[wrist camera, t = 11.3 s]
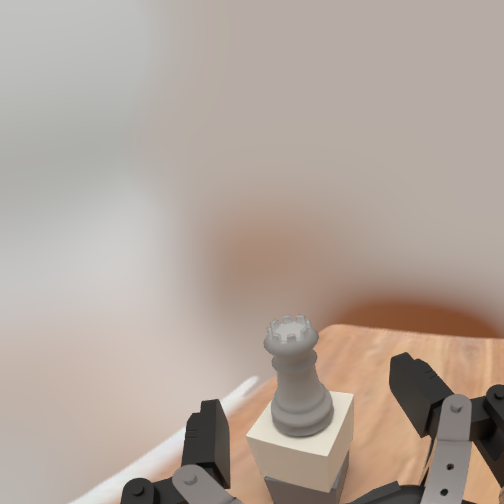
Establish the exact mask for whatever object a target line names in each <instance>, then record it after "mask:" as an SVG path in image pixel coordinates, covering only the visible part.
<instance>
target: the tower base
mask: <svg viewBox="0 0 504 504" xmlns="http://www.w3.org/2000/svg"><path fill="white" fill-rule="evenodd" d="M348 463H349V450H348V452H347V454H346V457H345V459H344V462H343V464H342V466H341V468H340V471H339V473H338V475H337V477H336V479H335V482H334V484H333V486H332V488H331V490H330V492H329V493H327V492H323V491H318V490H314V489H310V488H306V487H302V486H298V485H294V484H290V483H287V482H283V481H280V480H277V479H273V478H270V477H267V476H265V478H264V480H265V482H266V485H267V487H268V490H269V492H270V494H271V497H272V499H273V501H274V504H339V500H340V497H341V493H342V489H343V485H344V481H345V477H346V473H347V469H348Z"/></svg>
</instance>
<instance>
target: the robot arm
mask: <svg viewBox="0 0 504 504" xmlns="http://www.w3.org/2000/svg"><path fill="white" fill-rule="evenodd" d="M389 385H390V389H391V392H392V393H393V395H394V396H395V398H396V399H397V401H398V403H399V404H400V406H401V407H402V409H403V410H404V412H405V413H406V415H407V417H408V418H409V420H410V421H411V423H412V424H413V426H414V428H415V429H416V431H417V432H418V434H419V435H420V437H421V438H423V437H425V436H427V435H430V437H431V441H430V445H429V449H428V453H427V457H426V461H425V465H424V468H423V472H422V475H421V478H420V480H419V483H418V485H401V486H399V484H398V482H397V481H394V482H392V483H389V484H387V485H384V486H382V487H379V488H376V489H373V490H372V491H370V492H368V493H367V494H365V495H363V496H361V497H360V498H358V499H356V500H354V501H353V502H351V503H347V504H476V503H472V502H469V501H466V500H462V498H463V494H464V489H465V484H466V479H467V473H468V468H469V461H470V454H471V446H472V441H473V442H474V444H475V445H476V447H477V448H478V450H479V452H480V453H481V455H482V456H483V458H484V460H485V461H486V463H487V465H488V466H489V468H490V469H491V471H492V473H493V474H494V476H495V478H496V480H497V481H498V483H499V485H500V486H501V488H502V489H501V491H500V494H499V502H500V503H499V504H504V385H500V384H498V385H494V386H492V387H490V388H489V389H488V391H487V393H486V396H482V397H478V398H474V399H469V398H468V397H466V396H464V395H461V394H454V393H453V392H452V391H451V390H450V388H449V387H448V386H447V385H446V384H445V383H444V382H443V380H442V379H441V378H440V377H439V376H437V374H436V372H435V371H433V369H432V368H431V367H430V366H429V365H428V363H426V362H424V361H422V360H420V359H416V360H414V359H413V358H412V357H411V356H410V355H409V354H408V353H407V352H405V353H402V354H399V355H397V356H394V357H392V358H391V362H390V375H389ZM225 489H230V438H229V426H228V422H227V419H226V416H225V414H224V411H223V409H222V406H221V404H220V401H219V400H218V399H215V400H207V401H202V402H201V410H200V413H192V415H191V416H190V418H189V419H188V421H187V425H186V433H185V440H184V448H183V455H182V463H181V467H180V468H179V469H177V470H176V471H175V473H174V474H173V476H172V477H170V478H168V479H165V480H161V481H158V482H154V483H151V482H150V481H149V480H147V479H145V478H135V479H132V480H130V481H129V482H127V483H126V485H125V486H124V488H123V492H122V497H121V503H120V504H244V503H242V502H241V501H240V500H239V499H237V498H236V497H235V498H234V497H232V496H231V495H230V494H229V493H228V492H227V491H226V490H225Z"/></svg>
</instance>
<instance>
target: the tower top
mask: <svg viewBox="0 0 504 504" xmlns="http://www.w3.org/2000/svg"><path fill="white" fill-rule="evenodd" d="M329 392H330V394H331V397H332V400H333V407H334V414H333V417H332V420H331V421H330V422H329V423H328V424H327V425H326V426H325V427H324V428H323V429H321V430H319V431H317V432H316V433H314V434H311V435H306V436H294V435H288V434H286V433H284V432H282V431H280V430H278V429H277V428H276V426H275V425H274V423H273V422H272V414H271V402H272V400H271V402H270V403H269V404H268V406H267V407H266V409H265V410H264V412H263V413H262V414H261V416H260V417H259V419H258V420H257V421H256V423H255V424H254V425H253V427H252V428H251V429H250V431H249V432H248V433H247V435H246V438H247V440H248V443H249V445H250V448H251V450H252V453H253V456H254V458H255V461H256V463H257V466H258V468H259V470H260V473H261V475H264V476H267V477H270V478H273V479H277V480H280V481H283V482H287V483H290V484H294V485H298V486H302V487H306V488H310V489H314V490H318V491H323V492H327V493H329V492H330V490H331V488H332V486H333V484H334V482H335V479H336V477H337V475H338V473H339V471H340V468H341V466H342V464H343V462H344V459H345V457H346V454H347V452H348V450H349V447H350V445H351V442H352V440H353V425H354V394H349V393H340V392H333V391H329Z"/></svg>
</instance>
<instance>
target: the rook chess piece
mask: <svg viewBox="0 0 504 504" xmlns="http://www.w3.org/2000/svg"><path fill="white" fill-rule="evenodd" d="M296 319H297V321H292V320H291V315H286V316H283V321H284V323H281V324H279V322H278V320H276V319H275V320H273V321H272V322H271V323H270V325H271V327H267V332H268V335H267V337H266V338H265V340H264V348H265V349H266V350H267V351H268V352H269V353H270V354H272V355H274V357H273V359H272V366H273V367H274V369H275V370H276V371H277V376H278V388H277V390H276V392H275V394H274V397H273V399H272V402H271V414H272V422H273V423H274V425H275V426H276V428H277V429H278V430H280V431H282V432H284V433H286V434H288V435H294V436H306V435H311V434H314V433H316V432H317V431H319V430H321V429H323V428H324V427H325V426H326V425H327V424H328V423H329V422H330V421H331V420H332V417H333V414H334V407H333V400H332V397H331V394H330V392H329V390H327V389H326V388H325V387H324V385H323V384H322V383H321V382H320V381H319V379H318V376H317V373H316V369H315V363H316V360H317V354H316V352H315V351H314V350H313V348H314V346H315V345H316V344H317V341H318V339H319V335H318V332H317V331H316V330H315V329H314V328H312V327H311V322H310V320H309V319H308V320H305V316H302V315H297V317H296Z"/></svg>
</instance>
